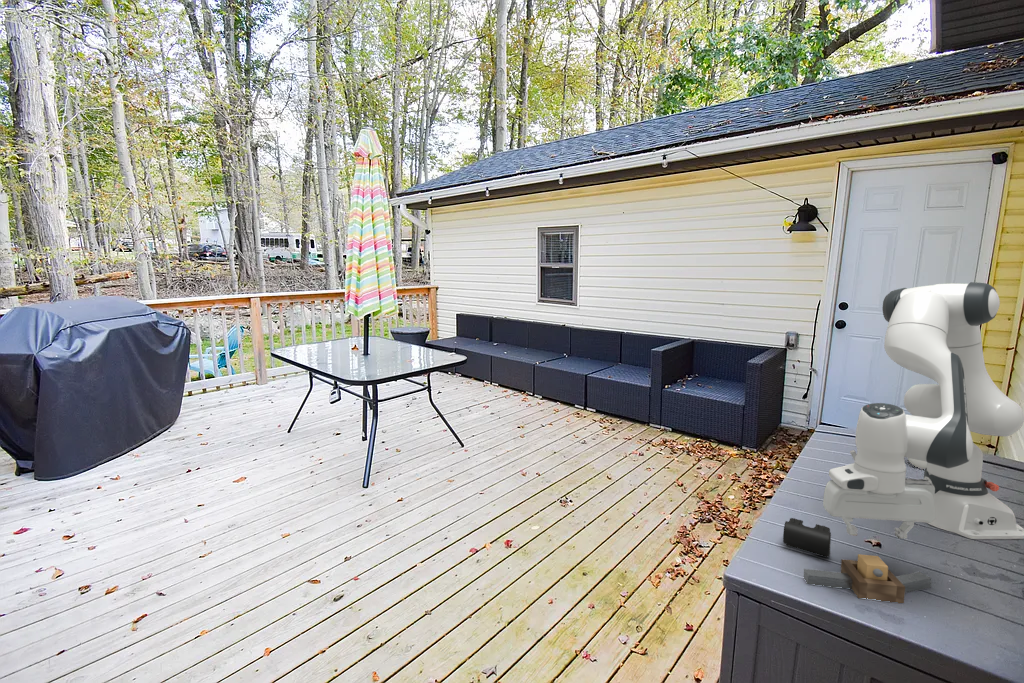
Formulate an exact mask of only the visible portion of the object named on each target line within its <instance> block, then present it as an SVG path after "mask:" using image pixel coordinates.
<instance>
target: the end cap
mask: <svg viewBox="0 0 1024 683" xmlns="http://www.w3.org/2000/svg"><path fill="white" fill-rule="evenodd" d="M782 539H783V541H782V542H783V544H785V545H786V546H787V547H790V548H794V549H797V550H801V551H804V552H806V553H811V554H815V555H817V556H820V557H824V558H828V557H830V556H831V543H832V541H831V540H832V532H831V529H830V527H828V526H826V525H821V524H818V523H816V524H815V526H814V527H810V526H805V525H804V521H803V520H801V519H797V518H794V517H790V518H789V520H788V521H787V520H785V522H784V526H783V534H782Z"/></svg>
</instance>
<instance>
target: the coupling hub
mask: <svg viewBox="0 0 1024 683" xmlns="http://www.w3.org/2000/svg"><path fill="white" fill-rule="evenodd" d="M857 563H858V560H855V559H844V558H842V559H841V561H840V573H847V574H848V575H849V576H850V577H851V579H852V590H853V591H854V592H853V591H852V592H853V593H854V595H855V594H856V595H857V596H856V595H855V596H856V597H857V598H858V599H859V598H866V599H867V598H868V599H876V600H881V601H880V602H883V601H890V602H889V603H892V602H898V603H897V604H900V603H904V604H905V594H906V593H905V586H904V585H903V584H902V583H901V582H900V581H899V580H898V579H897V578H896V577H895V574H894V573H893V572H892V571H891V570H890V569H889V568H888V576H887V581H883V580H873V579H864V578H863V577H862V576H861V574H860V573H859V572H858V571H857Z"/></svg>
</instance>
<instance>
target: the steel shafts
mask: <svg viewBox="0 0 1024 683" xmlns="http://www.w3.org/2000/svg"><path fill="white" fill-rule="evenodd" d="M894 576H895V575H894ZM803 577H804V578H803V579H805V580H806V582H807V583H806V582H805V583H806V585H807V584H815V585H822V586H821V587H824V586H831V587H830V588H833V587H842V588H850V589H849V590H851V589H852V579H851V577H850V576H849V575H848V574H847V573H841V572H838V571H829V570H819V569H817V570H816V569H809V568H803ZM895 577H896V578H897V579H898V580H899V581H900V582H901V583H902V584H903V585H904V586H905V594H906V593H907V594H908V593H912V592H917V591H923V590H927V589H931V586H932V577H930V576H929V575H927V574H925V573H923V572H921V571H916V572H911V573H907V574H901V575H896V576H895ZM805 580H804V581H805ZM815 585H814V586H815ZM823 585H824V586H823ZM842 588H841V589H842Z"/></svg>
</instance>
